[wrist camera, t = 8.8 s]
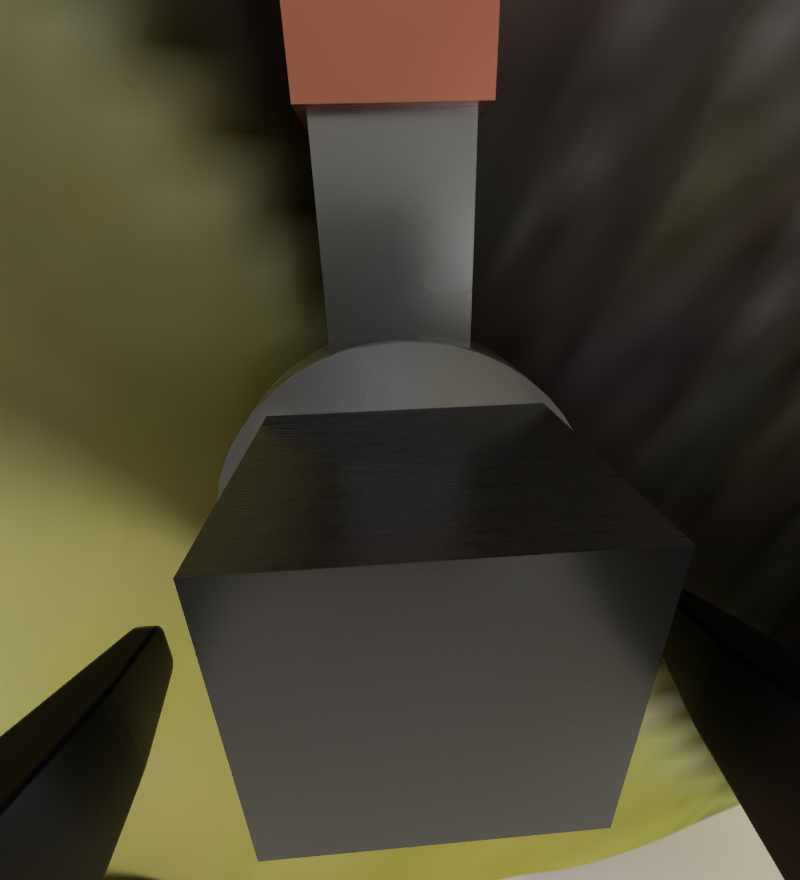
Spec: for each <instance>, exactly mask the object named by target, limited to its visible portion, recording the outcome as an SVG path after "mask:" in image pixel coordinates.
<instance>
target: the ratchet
mask: <svg viewBox="0 0 800 880" xmlns="http://www.w3.org/2000/svg"><path fill="white" fill-rule="evenodd" d="M280 7H281V16H282V25H283V35H284V44H285V53H286V62H287V72H288V81H289V90H290V100H291V105H292V107H293V109H294V110H295V112H296V114H297V116H298V117H299V119H300V121H301V123H302V124H303V126H304V128H305V129H308V133H309V143H310V154H311V164H312V174H313V185H314V195H315V205H316V216H317V226H318V236H319V247H320V257H321V268H322V278H323V288H324V299H325V309H326V319H327V330H328V340H329V344H326V345H324V346H322V347H321V348H319V349H317V350H315V351H314V352H312V353H310V354H308V355H306V356H305V357H303V358H302V359H301V360H299V361H298V362H297V363H296V364H294V365H293V366H292V367H290V368H289V369H288V370H286V371H285V372H284V373H283V374H282V375H281V376H280V377H279V378H278V379H277V380H276V381H275V382H274V383H273V384H272V385H271V387H270V388H269V389H268V391H267V392H266V393H265V395H264V396H263V397H262V399H261V400H260V401H259V403H258V404H257V406H256V407H255V409H254V410H253V412H252V413H251V415H250V416H249V418H248V419H247V420H246V422H245V423H244V425H243V426H242V428H241V429H240V431H239V432H238V434H237V436H236V438H235V440H234V442H233V444H232V446H231V448H230V450H229V452H228V453H227V456H226V459H225V462H224V465H223V468H222V471H221V474H220V479H219V485H218V491H217V497H216V503H217V501H218V500H219V498H220V496H221V494H222V493H223V491H224V489H225V487H226V486H227V484H228V482H229V481H230V479H231V477H232V475H233V474H234V472H235V470H236V468H237V467H238V465H239V463H240V461H241V460H242V458H243V456H244V454H245V453H246V451H247V449H248V447H249V446H250V444H251V442H252V440H253V439H254V437H255V435H256V433H257V432H258V430H259V428H260V427H261V425H262V423H263V421H264V420H265V418H266V416H280V415H301V414H322V413H343V412H364V411H384V410H405V409H426V408H447V407H468V406H489V405H510V404H531V403H544V404H545V405H546V406H547V407H548V408H549V409H550V410H551V411H553V412H554V413H555V414H556V415H557V416H558V417H559V418H560V419H561V420H562V421H563V422H564V423H565V424H567V425H568V426H569V427H570V428H571V426H570V425H569V423H568V421H567V420H566V418H565V416H564V415H563V414H562V412H561V411H560V410H559V409H558V408H557V406H556V405H555V404H554V403H553V402H552V400H551V399H550V398H549V397H548V396H547V395H546V394H545V393H544V392H542V391H541V390H540V389H539V388H538V387H537V386H536V385H534V384H533V383H532V382H531V381H530V380H529V379H528V378H526V377H525V376H524V375H523V374H522V373H521V372H520V371H518V370H517V369H516V368H515V367H514V366H513V365H512V364H510V363H509V362H508V361H507V360H506V359H504V358H502V357H501V356H499V355H498V354H496V353H495V352H493V351H492V350H490V349H489V348H487V347H485V346H482V345H480V344H478V343H476V342H474V341H472V340H470V338H471V309H472V279H473V249H474V219H475V190H476V160H477V130H478V119H479V118H480V117H481V115H482V114H483V113H484V112H485V111H486V110H487V109H488V108H489V107H490V106H491V104H492V103H493V102H494V101H495V98H496V77H497V55H498V34H499V12H500V0H280ZM571 429H572V428H571Z"/></svg>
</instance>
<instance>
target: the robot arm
mask: <svg viewBox="0 0 800 880" xmlns="http://www.w3.org/2000/svg"><path fill="white" fill-rule="evenodd" d="M662 660H663V662H664V664H665V666H666V668H667V670H668V672H669V674H670V677H671V679H672V681H673V683H674V685H675V687H676V689H677V691H678V694H679V696H680V698H681V700H682V702H683V704H684V706H685V708H686V710H687V712H688V714H689V716H690V718H691V720H692V722H693V724H694V725H695V727H696V729H697V731H698V733H699V734H700V736H701V738H702V739H703V741H704V743H705V745H706V746H707V748H708V750H709V751H710V753H711V755H712V756H713V758H714V760H715V762H716V763H717V765H718V767H719V768H720V770H721V772H722V774H723V775H724V777H725V779H726V780H727V782H728V784H729V786H730V787H731V789H732V791H733V792H734V794H735V796H736V798H737V799H738V801H739V803H740V804H741V806H742V808H743V809H744V811H745V813H746V815H747V816H748V818H749V820H750V821H751V823H752V825H753V827H754V828H755V830H756V832H757V833H758V835H759V837H760V839H761V840H762V842H763V844H764V845H765V847H766V849H767V850H768V852H769V854H770V856H771V857H772V859H773V861H774V862H775V864H776V866H777V867H778V869H779V871H780V873H781V874H782V876H783V878H784V879H785V880H800V653H798V652H797V651H795V650H793V649H791V648H790V647H788V646H786V645H784V644H782V643H781V642H779V641H777V640H775V639H773V638H772V637H770V636H768V635H766V634H765V633H763V632H761V631H759V630H757V629H756V628H754V627H752V626H750V625H749V624H747V623H745V622H743V621H741V620H740V619H738V618H736V617H734V616H732V615H731V614H729V613H727V612H725V611H724V610H722V609H720V608H718V607H716V606H715V605H713V604H711V603H709V602H708V601H706V600H704V599H702V598H700V597H699V596H697V595H695V594H693V593H691V592H690V591H688V590H686V589H684V588H682V590H681V593H680V597H679V600H678V603H677V607H676V610H675V613H674V617H673V620H672V623H671V627H670V630H669V633H668V637H667V640H666V643H665V647H664V650H663V653H662ZM172 669H173V658H172V655H171V652H170V649H169V646H168V643H167V640H166V637H165V634H164V631H163V629H162V628H161V627H160V626H144V627H137V628H134V629H132V630H131V631H130V632H128V633H127V634H126V635H125V636H123V637H122V638H121V639H120V640H118V641H117V642H116V643H115V644H114V645H112V646H111V647H110V648H109V649H107V650H106V651H105V652H104V653H102V654H101V655H100V656H99V657H98V658H96V659H95V660H94V661H93V662H91V663H90V664H89V665H88V666H86V667H85V668H84V669H83V670H82V671H80V672H79V673H78V674H77V675H75V676H74V677H73V678H72V679H71V680H69V681H68V682H67V683H66V684H64V685H63V686H62V687H61V688H59V689H58V690H57V691H56V692H55V693H53V694H52V695H51V696H50V697H48V698H47V699H46V700H45V701H43V702H42V703H41V704H40V705H39V706H37V707H36V708H35V709H34V710H32V711H31V712H30V713H29V714H27V715H26V716H25V717H24V718H23V719H21V720H20V721H19V722H18V723H16V724H15V725H14V726H13V727H11V728H10V729H9V730H8V731H7V732H5V733H4V734H3V735H2V736H0V880H103V879H104V876H105V873H106V871H107V868H108V866H109V863H110V860H111V858H112V855H113V852H114V850H115V847H116V845H117V842H118V839H119V837H120V834H121V831H122V829H123V826H124V823H125V821H126V818H127V816H128V813H129V810H130V808H131V805H132V802H133V800H134V797H135V794H136V792H137V789H138V787H139V784H140V781H141V778H142V775H143V773H144V770H145V767H146V764H147V760H148V757H149V754H150V751H151V747H152V743H153V740H154V736H155V732H156V729H157V725H158V721H159V718H160V714H161V711H162V707H163V703H164V700H165V696H166V692H167V689H168V685H169V681H170V678H171V674H172Z"/></svg>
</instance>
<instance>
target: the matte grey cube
mask: <svg viewBox="0 0 800 880" xmlns="http://www.w3.org/2000/svg"><path fill="white" fill-rule="evenodd" d="M694 547H695V544H694V543H693V542H692V541H691V540H690V539H689V538H688V537H687V536H686V535H684V534H683V533H682V532H681V531H680V530H679V529H678V528H677V527H676V526H675V525H674V524H673V523H672V522H671V521H669V520H668V519H667V518H666V517H665V516H664V515H663V514H662V513H661V512H660V511H659V510H658V509H657V508H655V507H654V506H653V505H652V504H651V503H650V502H649V501H648V500H647V499H646V498H645V497H644V496H643V495H642V494H640V493H639V492H638V491H637V490H636V489H635V488H634V487H633V486H632V485H631V484H630V483H629V482H628V481H627V480H625V479H624V478H623V477H622V476H621V475H620V474H619V473H618V472H617V471H616V470H615V469H614V468H613V467H612V466H610V465H609V464H608V463H607V462H606V461H605V460H604V459H603V458H602V457H601V456H600V455H599V454H598V453H597V452H595V451H594V450H593V449H592V448H591V447H590V446H589V445H588V444H587V443H586V442H585V441H584V440H583V439H582V438H580V437H579V436H578V435H577V434H576V433H575V432H574V431H573V430H572V429H571V428H570V427H569V426H568V425H567V424H565V423H564V422H563V421H562V420H561V419H560V418H559V417H558V416H557V415H556V414H555V413H554V412H553V411H551V410H550V409H549V408H548V407H547V406H546V405H545V404H544V403H531V404H510V405H489V406H468V407H447V408H426V409H405V410H384V411H364V412H343V413H322V414H301V415H280V416H266V418H265V420H264V421H263V423H262V425H261V427H260V428H259V430H258V432H257V433H256V435H255V437H254V439H253V440H252V442H251V444H250V446H249V447H248V449H247V451H246V453H245V454H244V456H243V458H242V460H241V461H240V463H239V465H238V467H237V468H236V470H235V472H234V474H233V475H232V477H231V479H230V481H229V482H228V484H227V486H226V487H225V489H224V491H223V493H222V494H221V496H220V498H219V500H218V501H217V503H216V505H215V507H214V508H213V510H212V512H211V514H210V515H209V517H208V519H207V521H206V522H205V524H204V526H203V528H202V529H201V531H200V533H199V534H198V536H197V538H196V540H195V541H194V543H193V545H192V547H191V548H190V550H189V552H188V554H187V555H186V557H185V559H184V561H183V562H182V564H181V566H180V568H179V569H178V571H177V573H176V575H175V576H174V578H173V579H174V582H175V586H176V589H177V592H178V596H179V599H180V602H181V606H182V609H183V612H184V616H185V619H186V622H187V626H188V629H189V632H190V636H191V639H192V642H193V646H194V649H195V652H196V656H197V659H198V662H199V666H200V669H201V672H202V676H203V679H204V682H205V686H206V689H207V692H208V696H209V699H210V702H211V706H212V709H213V712H214V716H215V719H216V722H217V726H218V729H219V732H220V736H221V739H222V742H223V746H224V749H225V752H226V756H227V759H228V762H229V766H230V769H231V772H232V776H233V779H234V782H235V786H236V789H237V792H238V796H239V799H240V802H241V806H242V809H243V812H244V816H245V819H246V822H247V826H248V829H249V832H250V836H251V839H252V842H253V846H254V849H255V852H256V856H257V859H258V861H268V860H279V859H289V858H300V857H310V856H320V855H331V854H341V853H352V852H362V851H373V850H383V849H394V848H404V847H415V846H425V845H435V844H446V843H456V842H467V841H477V840H488V839H498V838H509V837H519V836H530V835H540V834H550V833H561V832H571V831H582V830H592V829H603V828H610V827H611V824H612V820H613V817H614V814H615V810H616V807H617V804H618V800H619V797H620V794H621V790H622V787H623V784H624V780H625V777H626V774H627V770H628V767H629V763H630V760H631V757H632V753H633V750H634V747H635V743H636V740H637V737H638V733H639V730H640V727H641V723H642V720H643V717H644V713H645V710H646V707H647V703H648V700H649V697H650V693H651V690H652V687H653V683H654V680H655V677H656V673H657V670H658V667H659V663H660V660H661V657H662V653H663V650H664V647H665V643H666V640H667V637H668V633H669V630H670V627H671V623H672V620H673V617H674V613H675V610H676V607H677V603H678V600H679V597H680V593H681V590H682V587H683V583H684V580H685V577H686V573H687V570H688V567H689V563H690V560H691V557H692V553H693V550H694Z"/></svg>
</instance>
